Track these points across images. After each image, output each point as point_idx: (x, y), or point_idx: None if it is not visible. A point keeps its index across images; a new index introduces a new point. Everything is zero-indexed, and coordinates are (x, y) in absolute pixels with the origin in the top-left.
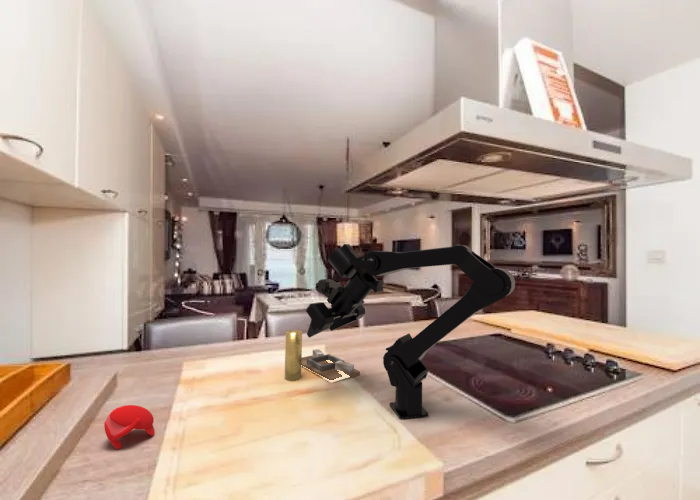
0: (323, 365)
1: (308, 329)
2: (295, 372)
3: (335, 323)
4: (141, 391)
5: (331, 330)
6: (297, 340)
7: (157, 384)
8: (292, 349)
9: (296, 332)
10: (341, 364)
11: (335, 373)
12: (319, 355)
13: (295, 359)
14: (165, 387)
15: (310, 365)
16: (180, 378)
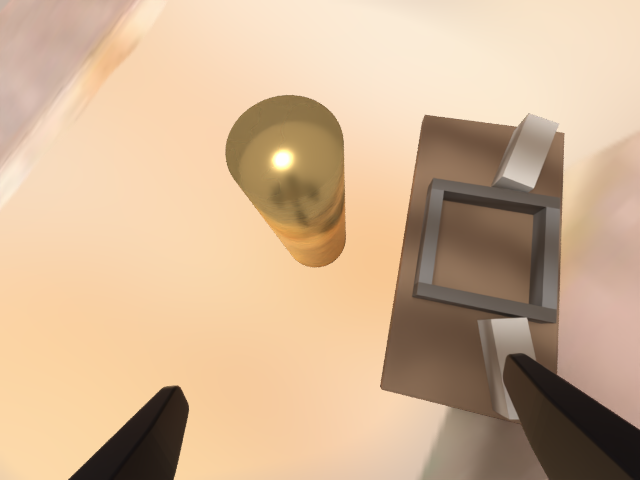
0: (430, 292)
1: (107, 443)
2: (299, 258)
3: (575, 465)
4: (19, 48)
5: (504, 383)
6: (277, 217)
7: (61, 31)
8: (265, 220)
9: (277, 175)
10: (497, 360)
11: (443, 356)
12: (508, 182)
13: (288, 245)
14: (59, 59)
15: (424, 214)
16: (113, 29)
